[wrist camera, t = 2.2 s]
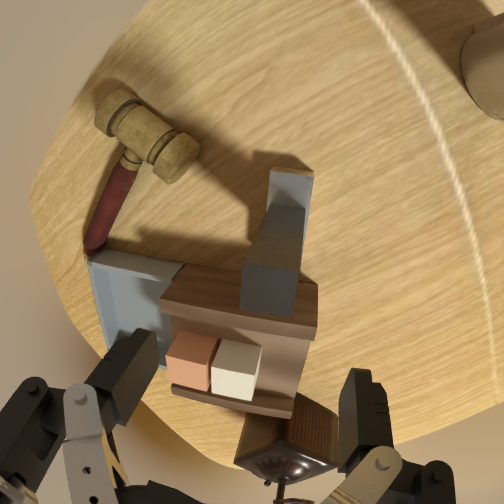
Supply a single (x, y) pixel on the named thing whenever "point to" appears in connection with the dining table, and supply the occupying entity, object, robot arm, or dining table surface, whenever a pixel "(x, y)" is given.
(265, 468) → the antique coffee grinder
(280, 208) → the grey upright post
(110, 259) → the tray
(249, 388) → the off-white cube
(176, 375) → the terracotta cube
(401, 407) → the dining table surface
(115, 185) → the gavel
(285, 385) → the slot block
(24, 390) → the robot arm
